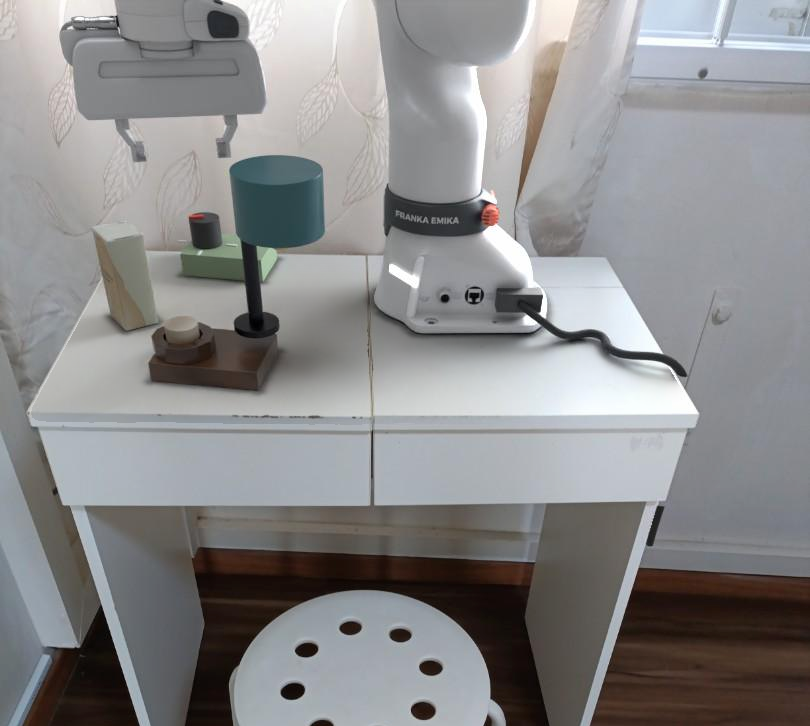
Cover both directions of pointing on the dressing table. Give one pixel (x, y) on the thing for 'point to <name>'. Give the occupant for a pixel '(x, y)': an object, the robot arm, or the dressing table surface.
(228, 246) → the dimmer panel
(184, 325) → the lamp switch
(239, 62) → the robot arm
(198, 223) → the dimmer knob
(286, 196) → the lamp
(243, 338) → the lamp base
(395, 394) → the dressing table surface
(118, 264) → the box
